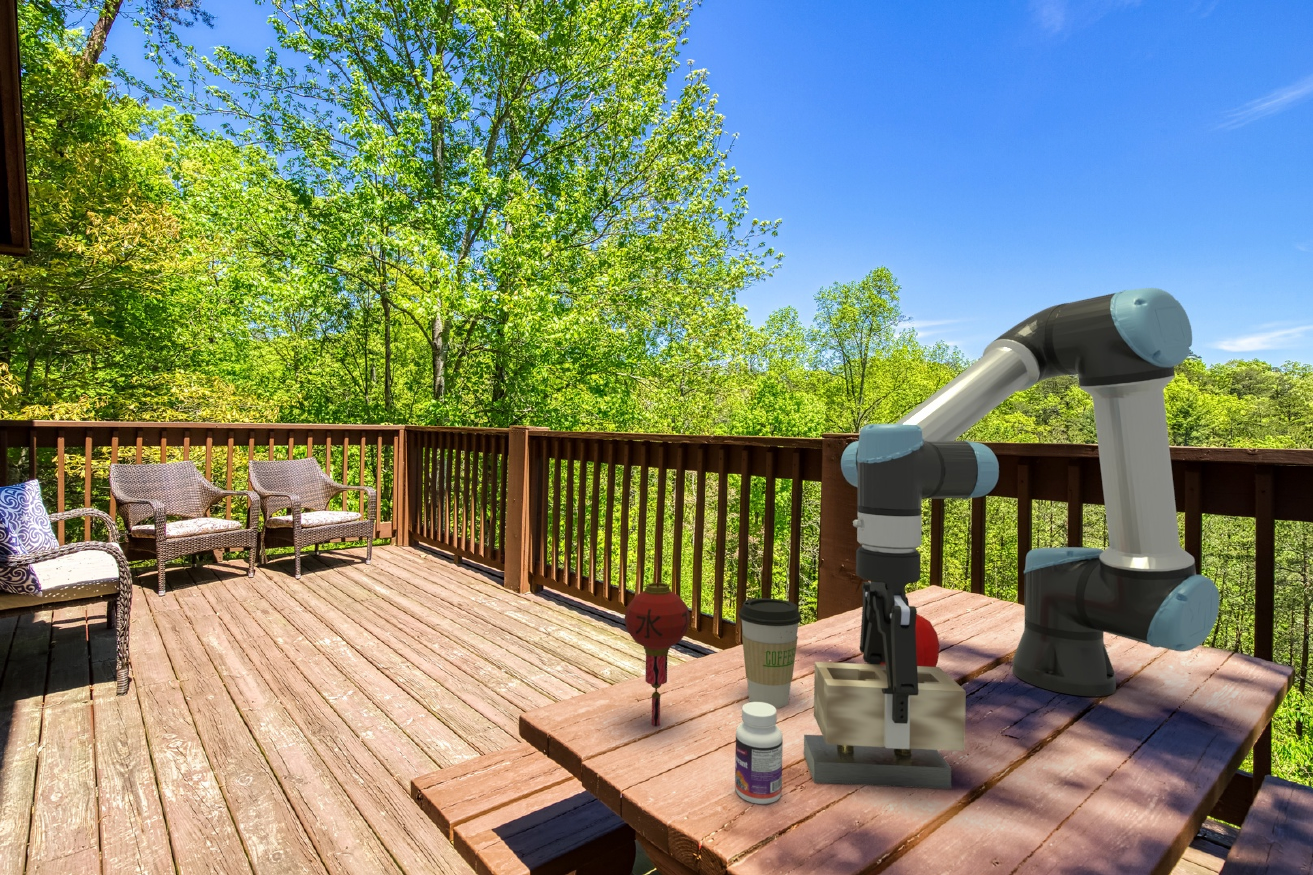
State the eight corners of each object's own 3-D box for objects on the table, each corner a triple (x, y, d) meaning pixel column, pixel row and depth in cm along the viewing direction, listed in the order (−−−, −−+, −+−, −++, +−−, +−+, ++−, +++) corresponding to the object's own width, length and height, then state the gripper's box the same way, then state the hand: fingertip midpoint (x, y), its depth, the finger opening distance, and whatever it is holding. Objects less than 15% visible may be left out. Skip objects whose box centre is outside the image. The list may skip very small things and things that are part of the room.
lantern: (696, 715, 93) (699, 513, 93) (677, 744, 84) (680, 520, 84) (636, 706, 96) (639, 510, 96) (612, 732, 87) (615, 517, 87)
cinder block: (938, 720, 82) (939, 667, 82) (964, 751, 74) (965, 691, 74) (813, 715, 83) (814, 661, 83) (826, 744, 75) (827, 685, 75)
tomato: (868, 695, 102) (869, 613, 102) (864, 669, 114) (865, 596, 114) (946, 704, 99) (947, 620, 99) (933, 676, 110) (934, 601, 110)
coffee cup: (801, 716, 94) (802, 615, 94) (734, 709, 96) (736, 610, 96) (799, 690, 103) (801, 599, 103) (739, 685, 105) (740, 595, 105)
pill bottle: (730, 780, 76) (731, 699, 76) (774, 778, 76) (775, 698, 76) (740, 806, 70) (741, 719, 70) (787, 804, 71) (788, 718, 71)
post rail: (928, 759, 81) (929, 708, 81) (950, 788, 74) (951, 733, 74) (803, 753, 82) (804, 703, 82) (814, 782, 75) (814, 728, 75)
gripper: (838, 534, 89) (835, 695, 89) (882, 562, 68) (879, 772, 68) (892, 535, 89) (889, 697, 88) (953, 564, 68) (950, 775, 68)
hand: (885, 729), depth 78 cm, fingers closed on cinder block, 8 cm apart
